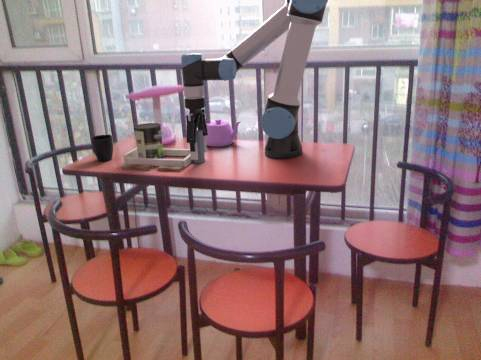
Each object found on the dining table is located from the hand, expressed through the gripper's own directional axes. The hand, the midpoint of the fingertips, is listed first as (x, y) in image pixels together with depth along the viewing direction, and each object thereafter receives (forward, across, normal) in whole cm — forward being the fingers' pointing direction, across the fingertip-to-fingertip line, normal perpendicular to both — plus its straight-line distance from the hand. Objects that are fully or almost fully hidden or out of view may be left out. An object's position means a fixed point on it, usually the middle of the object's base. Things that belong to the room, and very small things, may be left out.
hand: (199, 155), depth 163 cm
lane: (+2, 0, -13) cm, 14 cm away
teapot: (+3, -27, 0) cm, 27 cm away
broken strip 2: (+3, +10, -8) cm, 13 cm away
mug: (+3, 0, -40) cm, 41 cm away
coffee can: (+3, 0, -20) cm, 21 cm away
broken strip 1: (+3, +10, -21) cm, 24 cm away
